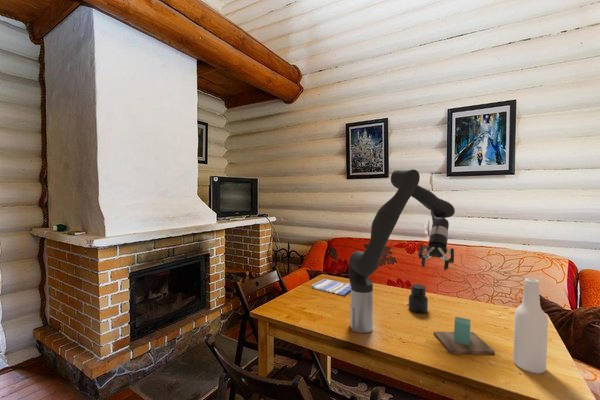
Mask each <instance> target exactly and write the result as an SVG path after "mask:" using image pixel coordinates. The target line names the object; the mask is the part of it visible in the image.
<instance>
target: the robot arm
mask: <svg viewBox="0 0 600 400" xmlns="http://www.w3.org/2000/svg"><path fill="white" fill-rule="evenodd" d="M420 177H421V175H420V172H419V171H418V170H417V169H415V168H396V169H394V170H393V171H392V173H391V174H390V183H391V184H392V185H391V186H393V187H394V188H396V189H397V191H396V192H395V193H394V195H393V196H392V197H391V198H390V199H389V200H387V201H386V202H385V203H384V204H383V205H381V207H379V209H377V212H376V214H375V216H374V218H373V219H372V223H371V226H370V230H371V231H370V239H369V242H368V245H367V246H366V248H365V250H364V251H361V250H356V251H354V252H353V253H352V254H350V255H349V259H348V279H349V284H351V293H350V304H349V326H350V329H351V332H356V333H358V334H369V333H370V332H372V331H373V306H374V305H373V303H374V301H373V299H374V296H373V295H374V293H373V292H374V290H373V289H374V288H373V287H374V285H373V282H372V281H371V279H370V276H372V275H373V274H374V272H375V271H376V269H377V268H378V265H379V262H380V259H381V257H382V254H383V251H384V249H385V246H386V244H387V243H388V241H389V239H390V236H391V235H392V233H393V231H394V229H395V226H396V225H397V223H398V221H399V219H400V217H401V214H402V212H403V210H404V209H405V207H406V205H407V203H408V201H409V200H410V198H411V197H412V198H413V199H415V200H416V201H417V202H419V204H421V205H422V206H424V207H425V208H426V209H427V210H429V211H430V216H431V221H432V222H431V223H432V224H431V230H430V233H429V239H428V245H427V246H424V244H423V245H422V244H420V246H419V251H418V254H417V256H418V259H420V260H421V267H422V268H425V267H426V261H427V260H428V259H430V258H437V259H440V258H441V259H442V260H443V261H444V263H443V264H444V266H443V270H444V271H445V272H446V271H448V270H449V265H450V263H451V264H454V263H455V249H454V248H450V249H449V248H447V246H448V240H449V228H450V227H449V225H450V222H449V220H448V219H447V218H451V217H453V216H454V215H455V213H456V210H455V207H454V205H453V204H452V203H450V202H449V201H447V200H444V199H442V198H439V197H438V196H437V195H436V194H434V193H433V192H432V191H430V190H428V189H427V188H424V187H422V186H420V185H419V183H420ZM425 251H426V252H425ZM424 252H425V253H424ZM447 253H448V254H449V255H450V258H448V256H447Z"/></svg>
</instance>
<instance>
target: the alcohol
mask: <svg viewBox="0 0 600 400" xmlns="http://www.w3.org/2000/svg"><path fill="white" fill-rule="evenodd" d="M540 283H541V282H540V280H538V279H536V278H531V277H530V278H529V277H526V278H524V283H523V284H524V288H523V295H522V302H521V304H520V305H519V306H517V308H516V309H515V311H514V319H513V320H514V321H513V322H514V324H513V325H514V326H513V352H512V353H513V355H512V356H513V357H512V359H513V362H514V364H515V365H516V366H517V367H518V368H520V369H521V370H523V371H526V372H527V373H531V374H538V375H539V374H540V375H541V374H543V373H544V372H546V371H547V359H548V357H547V354H548V331H549V330H548V327H549V325H548V324H549V320H548V316H547V314H546V313H545V311H544V310H543V309H542V306H541V301H540Z"/></svg>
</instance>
